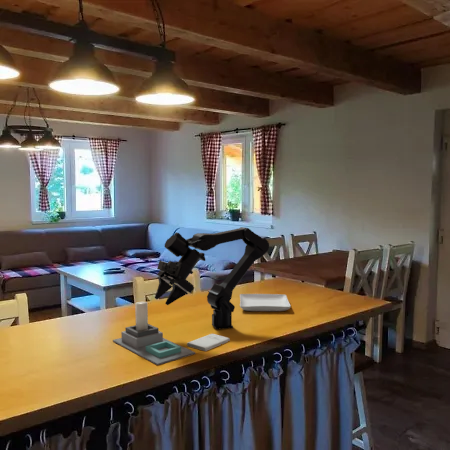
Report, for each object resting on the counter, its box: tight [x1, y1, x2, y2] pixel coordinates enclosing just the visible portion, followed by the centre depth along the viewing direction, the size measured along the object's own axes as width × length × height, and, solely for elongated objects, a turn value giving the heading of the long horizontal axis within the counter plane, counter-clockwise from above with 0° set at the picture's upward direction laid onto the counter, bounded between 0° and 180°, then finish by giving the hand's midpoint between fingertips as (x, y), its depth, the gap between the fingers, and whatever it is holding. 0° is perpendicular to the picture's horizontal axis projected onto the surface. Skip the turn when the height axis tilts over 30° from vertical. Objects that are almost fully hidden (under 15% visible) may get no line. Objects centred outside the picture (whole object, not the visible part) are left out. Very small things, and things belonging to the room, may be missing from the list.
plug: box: [134, 301, 149, 332], centre depth 157 cm, size 4×4×10 cm
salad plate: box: [239, 293, 292, 312], centre depth 204 cm, size 21×21×3 cm
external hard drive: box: [186, 333, 231, 352], centre depth 157 cm, size 2×8×12 cm
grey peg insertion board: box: [112, 323, 196, 366], centre depth 153 cm, size 28×14×5 cm, turn 41°
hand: (161, 301), depth 161 cm, fingers open, 9 cm apart
